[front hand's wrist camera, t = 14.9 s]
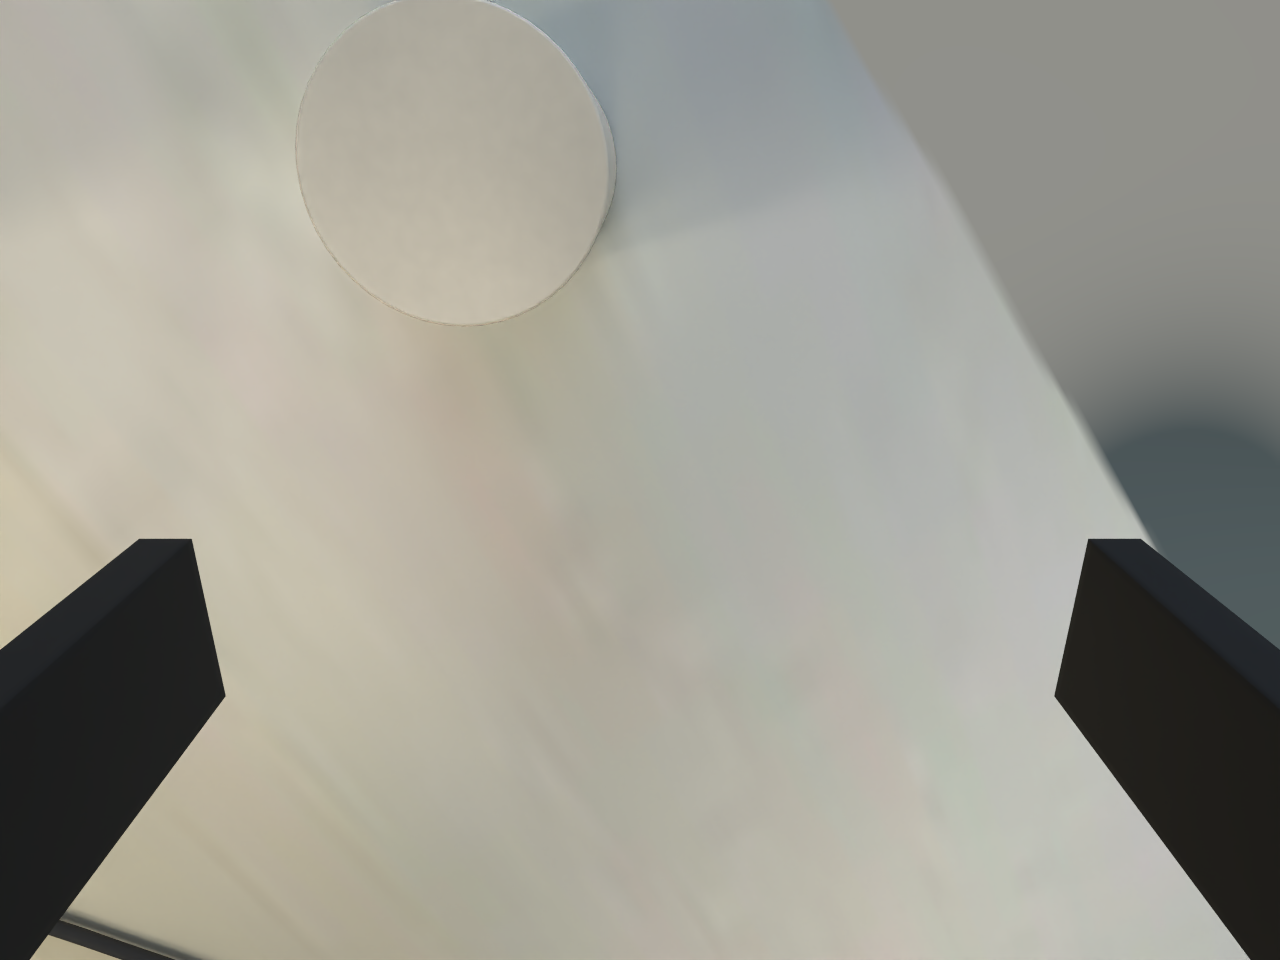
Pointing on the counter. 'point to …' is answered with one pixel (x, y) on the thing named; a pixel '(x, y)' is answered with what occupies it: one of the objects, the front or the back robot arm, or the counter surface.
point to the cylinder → (453, 160)
